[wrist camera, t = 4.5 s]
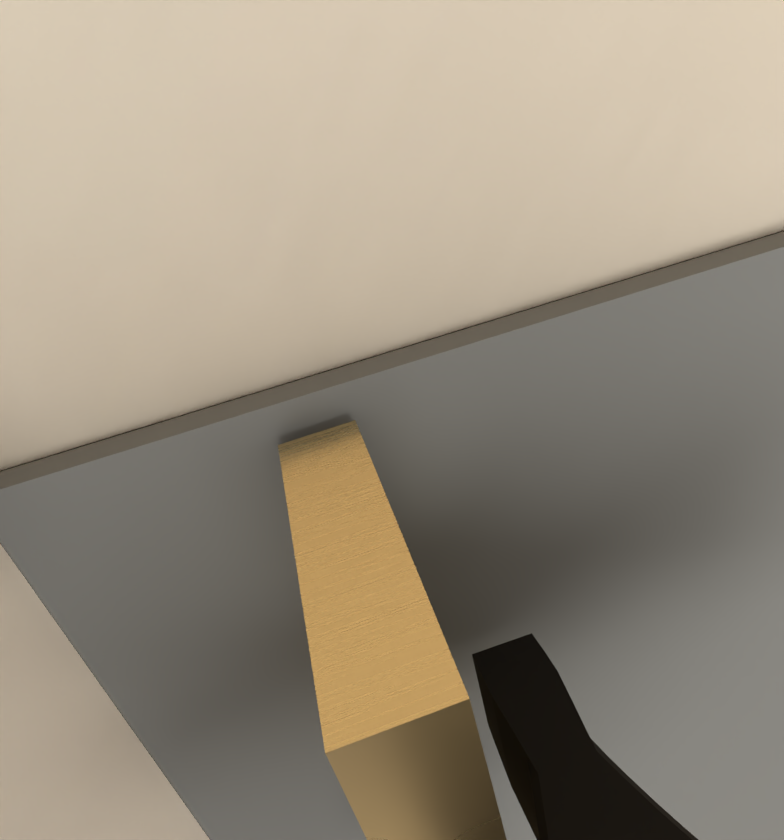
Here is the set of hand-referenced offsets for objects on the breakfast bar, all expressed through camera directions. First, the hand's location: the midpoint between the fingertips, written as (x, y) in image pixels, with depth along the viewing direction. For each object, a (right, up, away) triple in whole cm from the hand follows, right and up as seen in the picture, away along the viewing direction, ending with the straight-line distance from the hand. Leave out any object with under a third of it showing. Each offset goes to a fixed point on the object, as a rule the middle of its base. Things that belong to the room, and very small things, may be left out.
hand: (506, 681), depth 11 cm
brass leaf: (-2, 0, +1) cm, 2 cm away
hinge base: (+2, -4, +5) cm, 6 cm away
